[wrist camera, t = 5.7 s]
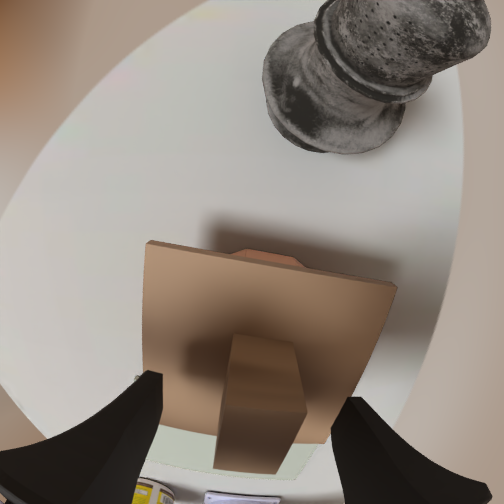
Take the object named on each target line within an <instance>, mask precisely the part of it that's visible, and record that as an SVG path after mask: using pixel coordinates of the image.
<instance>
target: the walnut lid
mask: <svg viewBox="0 0 504 504" xmlns="http://www.w3.org/2000/svg"><path fill="white" fill-rule="evenodd" d="M396 290H397V287H396V286H395V285H394V284H393V283H392V282H386V281H381V280H375V279H369V278H363V277H357V276H351V275H345V274H340V273H334V272H328V271H322V270H316V269H311V268H305V267H299V266H293V265H288V264H282V263H276V262H271V261H265V260H259V259H254V258H248V257H242V256H237V255H231V254H226V253H220V252H214V251H209V250H203V249H198V248H192V247H187V246H181V245H176V244H170V243H165V242H159V241H154V240H150V241H149V242H148V243H146V247H145V261H144V278H143V306H142V352H143V373H144V372H145V371H146V370H150V371H154V372H158V373H162V374H163V411H162V415H161V419H160V422H159V424H160V425H164V426H168V427H172V428H176V429H181V430H186V431H190V432H196V433H201V434H206V435H212V436H217V438H216V446H215V455H214V463H213V469H218V470H225V471H234V472H243V473H255V474H272V475H276V473H277V472H278V470H279V468H280V466H281V464H282V463H283V461H284V459H285V457H286V455H287V453H288V451H289V450H290V448H291V446H292V444H324V443H325V442H326V440H327V438H328V437H329V435H330V433H331V429H330V428H331V426H332V425H333V423H334V421H335V419H336V417H337V416H338V414H339V412H340V410H341V408H342V406H343V404H344V403H345V401H346V399H347V397H351V396H352V394H353V392H354V390H355V388H356V386H357V384H358V382H359V380H360V378H361V376H362V374H363V372H364V369H365V367H366V365H367V363H368V361H369V359H370V356H371V354H372V352H373V350H374V347H375V345H376V343H377V340H378V338H379V335H380V333H381V331H382V328H383V326H384V323H385V320H386V318H387V315H388V313H389V310H390V307H391V304H392V302H393V299H394V296H395V293H396Z"/></svg>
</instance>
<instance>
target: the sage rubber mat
mask: <svg viewBox="0 0 504 504" xmlns="http://www.w3.org/2000/svg"><path fill="white" fill-rule="evenodd" d="M138 378H139V377H138V376H136V377H135V379H134V382H135V381H136V380H137V379H138ZM216 438H217V436H212V435H206V434H201V433H196V432H190V431H186V430H181V429H176V428H172V427H168V426H164V425H160V424H159V426H158V430H157V432H156V435H155V437H154V440H153V442H152V445H151V447H150V450H149V452H148V454H147V457H146V459H145V460H148V461H152V462H156V463H160V464H164V465H168V466H172V467H177V468H181V469H186V470H191V471H197V472H202V473H208V474H215V475H222V476H230V477H240V478H251V479H267V480H295V479H296V478H297V476H298V475H299V474H300V472H301V471H302V469H303V468H304V466H305V465H306V463H307V461H308V460H309V458H310V457H311V455H312V454H313V452H314V450H315V449H316V447H317V446H318V444H292V446H291V448H290V450H289V451H288V453H287V455H286V457H285V459H284V461H283V463H282V464H281V466H280V468H279V470H278V472H277V473H276V475H272V474H255V473H243V472H234V471H225V470H218V469H213V463H214V455H215V446H216Z"/></svg>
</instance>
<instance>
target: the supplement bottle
mask: <svg viewBox="0 0 504 504" xmlns="http://www.w3.org/2000/svg"><path fill="white" fill-rule="evenodd" d="M173 503H174V494H173V492H172V491H171V490H170V489H169V488H167V487H166V486H164V485H162V484H159V483H157V482H154V481H151V480H147V479H142V478H138V481H137V485H136V489H135V493H134V497H133V501H132V504H173Z"/></svg>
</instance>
